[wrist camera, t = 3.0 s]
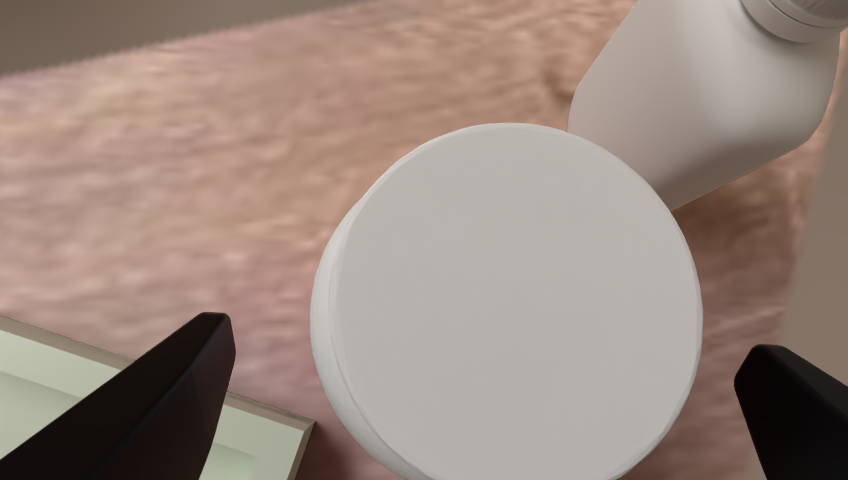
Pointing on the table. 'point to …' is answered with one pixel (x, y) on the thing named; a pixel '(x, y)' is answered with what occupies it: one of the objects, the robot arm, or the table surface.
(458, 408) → the pill bottle
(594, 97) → the eye dropper bottle
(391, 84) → the table surface
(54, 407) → the tray
